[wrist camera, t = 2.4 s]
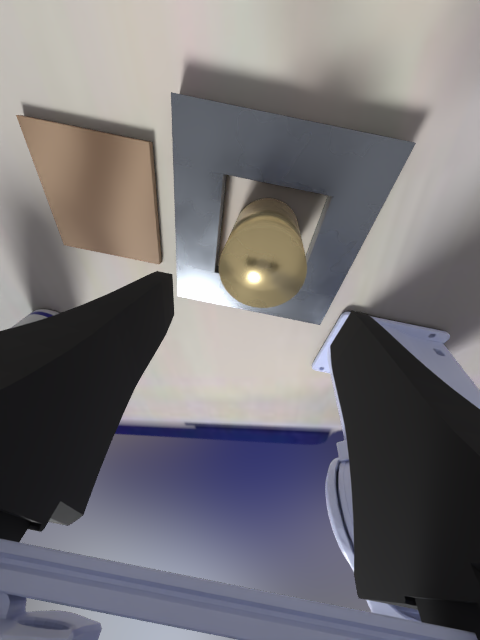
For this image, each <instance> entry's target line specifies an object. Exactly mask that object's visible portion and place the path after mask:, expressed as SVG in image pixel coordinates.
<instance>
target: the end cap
mask: <svg viewBox="0 0 480 640" xmlns="http://www.w3.org/2000/svg"><path fill="white" fill-rule="evenodd" d="M306 274H307V262H306V257H305V252H304V248H303V243H302V239H301V234H300V230H299V225H298V221H297V218H296V216H295V214H294V212H293V211H292V209H291V208H290V207H289V206H288V205H287V204H285V203H283V202H282V201H279V200H277V199H272V198H263V199H259V200H256V201H254V202H252V203H250V204H249V205H247V206H246V207H245V208H244V209H243V210H242V212H241V213H240V214H239V216H238V218H237V221H236V223H235V225H234V227H233V229H232V232H231V234H230V236H229V238H228V240H227V242H226V245H225V247H224V249H223V251H222V253H221V256H220V260H219V276H220V279H221V282H222V284H223V286H224V288H225V289H226V291H227V292H228V293H229V294H230V295H231V296H232V297H233V298H234V299H236V300H237V301H239V302H241V303H243V304H245V305H248V306H251V307H257V308H270V307H275V306H278V305H281V304H283V303H285V302H287V301H289V300H290V299H291V298H293V297H294V296H295V295H296V294H297V293H298V292H299V290H300V289H301V287H302V286H303V284H304V282H305V278H306Z"/></svg>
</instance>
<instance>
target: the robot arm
mask: <svg viewBox="0 0 480 640" xmlns="http://www.w3.org/2000/svg"><path fill="white" fill-rule="evenodd" d="M173 316H174V300H173V279H172V274H168V273H163V272H158V271H156V272H154V273H151V274H149V275H147V276H145V277H143V278H141V279H139V280H137V281H134V282H132V283H130V284H128V285H126V286H124V287H122V288H120V289H118V290H116V291H114V292H111V293H109V294H107V295H105V296H102V297H100V298H98V299H95V300H93V301H90V302H88V303H86V304H83V305H81V306H78V307H76V308H73V309H71V310H68V311H65V312H62V313H59V314H56V315H53V316H50V317H48V318H45V319H41V320H38V321H35V322H31V323H28V324H24V325H21V326H17V327H14V328H10V329H7V330H3V331H0V640H98V638H99V635H100V632H101V629H102V628H101V624H100V623H99V622H96V621H94V620H91V619H88V618H86V617H83V616H81V615H78V614H75V613H71V612H66V611H55V610H50V611H32V612H26V611H25V606H26V598H31V599H35V600H41V601H46V602H51V603H56V604H61V605H66V606H71V607H76V608H81V609H86V610H91V611H97V612H101V613H106V614H112V615H116V616H121V617H127V618H132V619H137V620H142V621H147V622H152V623H157V624H162V625H168V626H172V627H177V628H182V629H187V630H192V631H197V632H202V633H208V634H213V635H218V636H223V637H228V638H233V639H238V640H480V390H479V389H478V388H477V386H476V385H475V384H474V382H473V381H472V380H471V379H470V377H469V376H468V375H467V373H466V372H465V371H464V370H463V368H462V367H461V366H460V364H459V363H458V362H457V361H456V359H455V358H454V357H453V355H452V354H451V353H450V352H449V350H448V349H447V348H446V346H445V345H444V343H445V342H446V341H447V340H448V339H449V338H450V335H449V334H448V333H447V332H446V331H441V330H436V329H431V328H426V327H421V326H416V325H411V324H406V323H401V322H397V321H392V320H387V319H382V318H377V317H372V316H369V315H368V314H365V313H360V312H355V311H351V312H344V313H342V314H341V316H340V318H339V319H338V321H337V323H336V324H335V326H334V328H333V329H332V331H331V333H330V335H329V336H328V338H327V340H326V341H325V343H324V345H323V347H322V348H321V350H320V352H319V353H318V355H317V357H316V358H315V360H314V362H313V364H312V369H314V370H317V371H322V372H326V373H330V374H331V379H332V383H333V388H334V393H335V397H336V402H337V407H338V411H339V416H340V420H341V425H342V430H343V434H344V439H345V440H344V441H342V442H338V443H337V449H338V454H339V458H336V459H334V460H333V461H332V462H331V464H330V466H329V469H328V474H327V478H326V487H325V488H326V490H325V491H326V503H327V509H328V514H329V519H330V522H331V526H332V529H333V532H334V535H335V538H336V540H337V543H338V545H339V547H340V549H341V551H342V553H343V555H344V556H345V558H346V559H347V561H348V562H349V564H350V566H351V568H352V569H353V571H354V577H355V583H356V589H357V594H358V597H359V598H361V599H365V600H367V603H368V605H369V608H370V609H371V612H367V611H362V610H356V609H352V608H347V607H342V606H337V605H332V604H327V603H321V602H316V601H312V600H307V599H302V598H297V597H291V596H286V595H281V594H276V593H271V592H266V591H261V590H256V589H250V588H246V587H241V586H236V585H231V584H226V583H221V582H216V581H211V580H206V579H201V578H196V577H190V576H186V575H180V574H176V573H171V572H166V571H160V570H155V569H150V568H145V567H139V566H135V565H130V564H125V563H120V562H115V561H110V560H105V559H100V558H95V557H90V556H85V555H80V554H75V553H69V552H64V551H60V550H55V549H50V548H45V547H39V546H34V545H29V544H24V543H19V542H20V540H21V538H22V537H23V535H24V534H25V532H26V530H27V529H30V530H35V531H42V530H43V529H44V528H45V526H46V525H47V523H48V522H52V523H57V524H62V525H67V526H68V525H70V524H72V523H73V522H75V521H76V520H78V519H79V518H80V517H81V516H83V514H84V511H85V509H86V506H87V503H88V500H89V498H90V495H91V492H92V489H93V487H94V484H95V481H96V479H97V476H98V474H99V471H100V468H101V466H102V463H103V461H104V458H105V456H106V453H107V451H108V449H109V446H110V443H111V441H112V438H113V436H114V434H115V432H116V429H117V427H118V425H119V422H120V420H121V418H122V415H123V413H124V411H125V409H126V406H127V404H128V402H129V400H130V398H131V395H132V393H133V391H134V389H135V387H136V385H137V383H138V381H139V380H140V378H141V376H142V374H143V373H144V371H145V369H146V368H147V366H148V364H149V363H150V361H151V359H152V357H153V356H154V354H155V352H156V351H157V349H158V347H159V346H160V344H161V342H162V340H163V339H164V337H165V335H166V333H167V331H168V328H169V326H170V324H171V321H172V318H173ZM430 334H431V335H430Z"/></svg>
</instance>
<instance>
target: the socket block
mask: <svg viewBox="0 0 480 640" xmlns="http://www.w3.org/2000/svg"><path fill="white" fill-rule="evenodd" d="M171 106H172V137H173V168H174V199H175V229H176V260H177V291H178V296H180V297H185V298H190V299H195V300H200V301H205V302H210V303H214V304H219V305H224V306H229V307H234V308H239V309H244V310H249V311H254V312H259V313H264V314H269V315H273V316H278V317H283V318H288V319H293V320H298V321H303V322H308V323H313V324H318V325H320V324H321V322H322V320H323V318H324V316H325V315H326V313H327V311H328V309H329V307H330V305H331V303H332V301H333V299H334V297H335V296H336V294H337V292H338V290H339V288H340V286H341V284H342V282H343V280H344V278H345V277H346V275H347V273H348V271H349V269H350V267H351V265H352V263H353V261H354V259H355V258H356V256H357V254H358V252H359V250H360V248H361V246H362V244H363V242H364V240H365V239H366V237H367V235H368V233H369V231H370V229H371V227H372V225H373V223H374V221H375V220H376V218H377V216H378V214H379V212H380V210H381V208H382V206H383V204H384V202H385V201H386V199H387V197H388V195H389V193H390V191H391V189H392V187H393V185H394V183H395V182H396V180H397V178H398V176H399V174H400V172H401V170H402V168H403V166H404V164H405V163H406V161H407V159H408V157H409V155H410V153H411V151H412V149H413V147H414V145H415V144H416V143H414V142H409V141H404V140H399V139H394V138H390V137H385V136H380V135H375V134H370V133H365V132H361V131H356V130H351V129H346V128H341V127H336V126H331V125H327V124H322V123H317V122H312V121H307V120H302V119H298V118H293V117H288V116H283V115H278V114H273V113H268V112H264V111H259V110H254V109H249V108H244V107H239V106H235V105H230V104H225V103H220V102H215V101H210V100H206V99H201V98H196V97H191V96H186V95H181V94H176V93H172V92H171ZM226 175H231V176H236V177H241V178H246V179H251V180H255V181H260V182H265V183H270V184H275V185H280V186H285V187H290V188H294V189H299V190H304V191H309V192H314V193H319V194H324V195H328V197H327V199H326V202H325V205H324V208H323V210H322V213H321V216H320V218H319V221H318V224H317V227H316V229H315V232H314V235H313V237H312V240H311V243H310V245H309V248H308V251H307V254H306V256H305V257H306V262H307V274H306V278H305V282H304V284H303V286H302V287H301V289H300V290H299V292H298V293H297V294H296V295H295V296H294V297H293V298H291V299H290V300H289V301H287V302H285V303H283V304H281V305H278V306H275V307H270V308H257V307H251V306H248V305H245V304H243V303H241V302H239V301H237V300H236V299H234V298H233V297H232V296H231V295H230V294H229V293H228V292H227V291H226V289H225V288H224V286H223V284H222V282H221V279H220V276H219V266H218V255H219V245H220V235H221V224H222V214H223V204H224V194H225V184H226Z"/></svg>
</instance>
